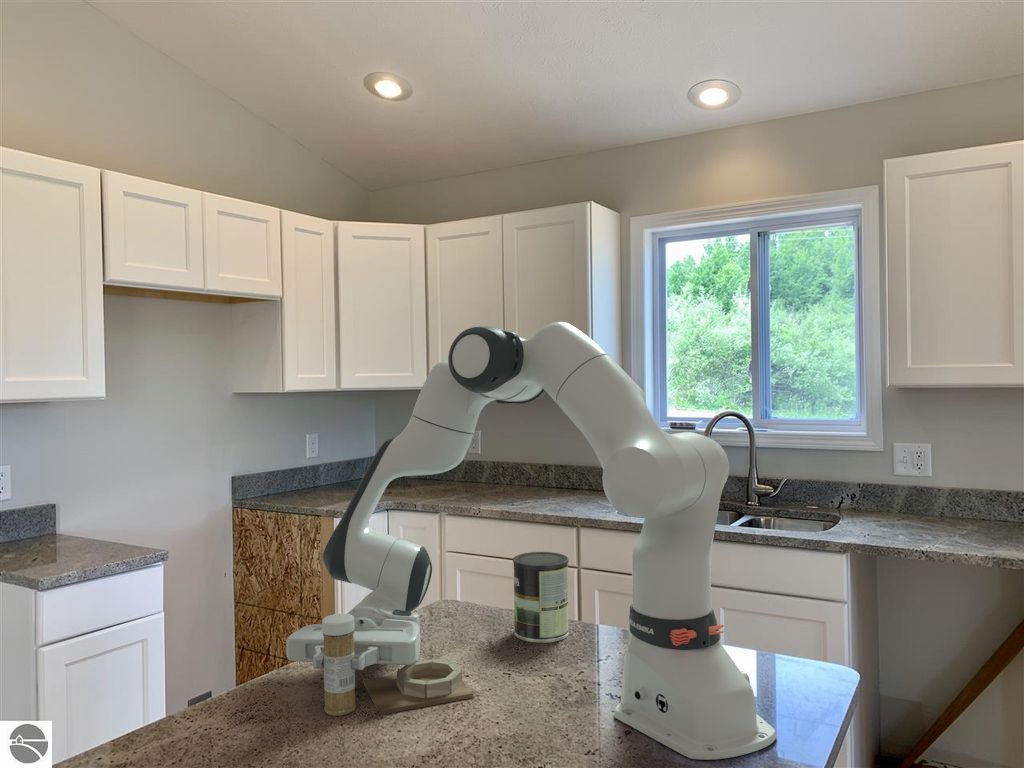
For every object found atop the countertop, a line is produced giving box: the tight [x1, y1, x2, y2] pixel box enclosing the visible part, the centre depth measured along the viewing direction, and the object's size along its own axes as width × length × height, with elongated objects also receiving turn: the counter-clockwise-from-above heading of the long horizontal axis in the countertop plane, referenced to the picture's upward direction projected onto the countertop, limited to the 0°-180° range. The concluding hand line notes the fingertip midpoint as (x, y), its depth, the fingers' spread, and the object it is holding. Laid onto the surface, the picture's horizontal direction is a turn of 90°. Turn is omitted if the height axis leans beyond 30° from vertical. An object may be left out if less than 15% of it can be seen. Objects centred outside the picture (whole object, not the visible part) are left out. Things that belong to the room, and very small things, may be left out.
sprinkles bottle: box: [321, 613, 357, 717], centre depth 108 cm, size 5×5×14 cm
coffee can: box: [512, 551, 570, 644], centre depth 139 cm, size 10×10×14 cm
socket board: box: [362, 658, 474, 716], centre depth 115 cm, size 12×14×3 cm
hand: (337, 664), depth 107 cm, fingers closed on sprinkles bottle, 4 cm apart
